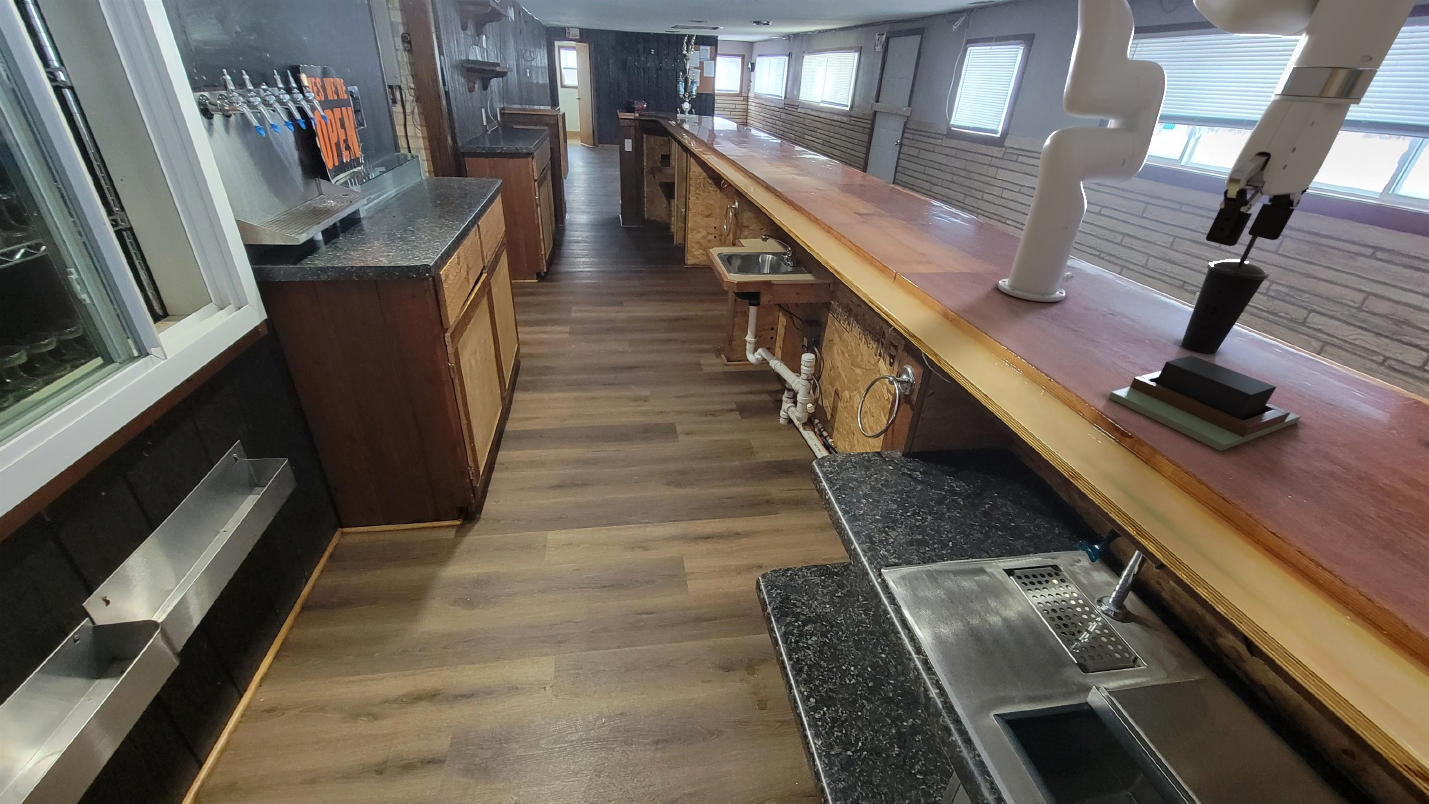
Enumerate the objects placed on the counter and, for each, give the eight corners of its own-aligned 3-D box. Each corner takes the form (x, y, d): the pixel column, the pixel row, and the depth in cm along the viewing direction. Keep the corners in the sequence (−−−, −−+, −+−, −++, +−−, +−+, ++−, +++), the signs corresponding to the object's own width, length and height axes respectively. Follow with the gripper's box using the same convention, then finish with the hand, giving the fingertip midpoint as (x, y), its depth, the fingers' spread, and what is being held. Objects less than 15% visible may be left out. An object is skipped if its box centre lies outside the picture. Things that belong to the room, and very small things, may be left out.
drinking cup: (1175, 335, 100) (1231, 220, 91) (1229, 349, 96) (1294, 229, 86) (1166, 346, 96) (1224, 226, 86) (1222, 361, 91) (1290, 236, 81)
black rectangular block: (1151, 390, 79) (1165, 361, 77) (1177, 383, 81) (1191, 355, 79) (1232, 426, 71) (1251, 394, 69) (1258, 417, 73) (1276, 386, 71)
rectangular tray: (1184, 377, 85) (1191, 362, 84) (1297, 422, 74) (1307, 406, 73) (1108, 397, 79) (1115, 382, 77) (1220, 451, 68) (1231, 433, 66)
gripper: (1318, 88, 69) (1245, 228, 78) (1240, 84, 63) (1170, 237, 72) (1400, 91, 64) (1311, 242, 73) (1324, 88, 57) (1236, 254, 66)
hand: (1241, 240), depth 72 cm, fingers open, 9 cm apart
